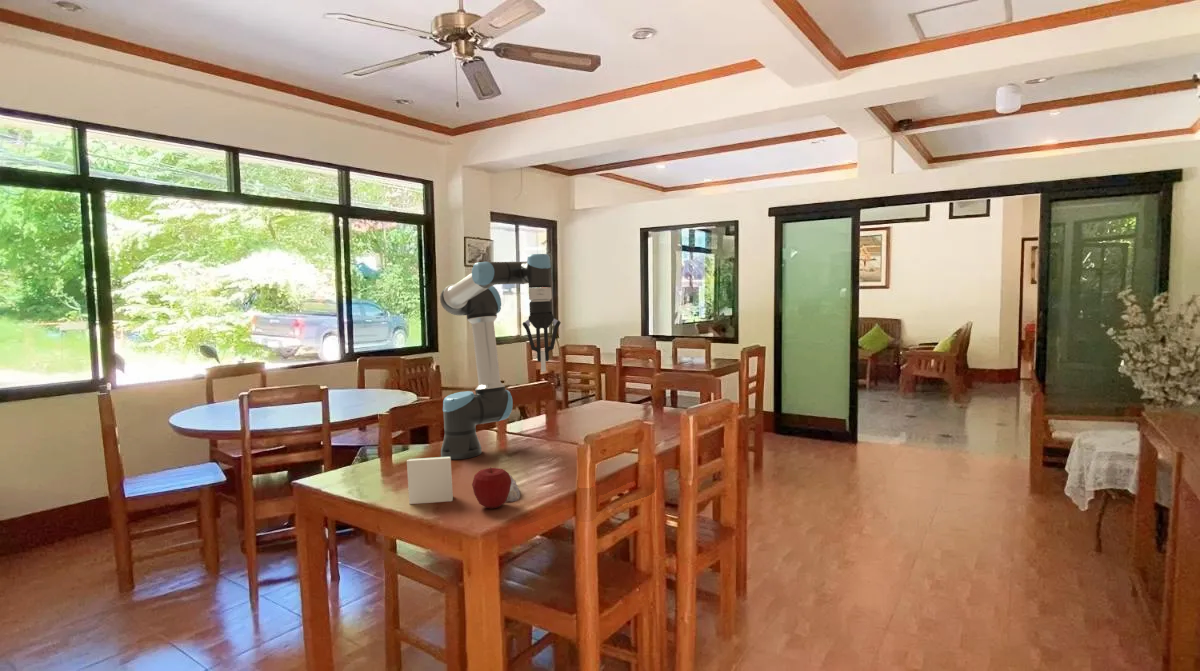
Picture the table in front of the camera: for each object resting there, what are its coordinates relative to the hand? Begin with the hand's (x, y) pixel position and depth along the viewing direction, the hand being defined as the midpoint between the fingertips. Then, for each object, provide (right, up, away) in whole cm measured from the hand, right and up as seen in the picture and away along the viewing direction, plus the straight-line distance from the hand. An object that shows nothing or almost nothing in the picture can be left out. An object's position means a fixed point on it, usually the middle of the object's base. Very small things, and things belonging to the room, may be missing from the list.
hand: (543, 371), depth 212 cm
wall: (-31, -38, -24) cm, 55 cm away
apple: (-12, -38, -31) cm, 50 cm away
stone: (-11, -37, -19) cm, 43 cm away
